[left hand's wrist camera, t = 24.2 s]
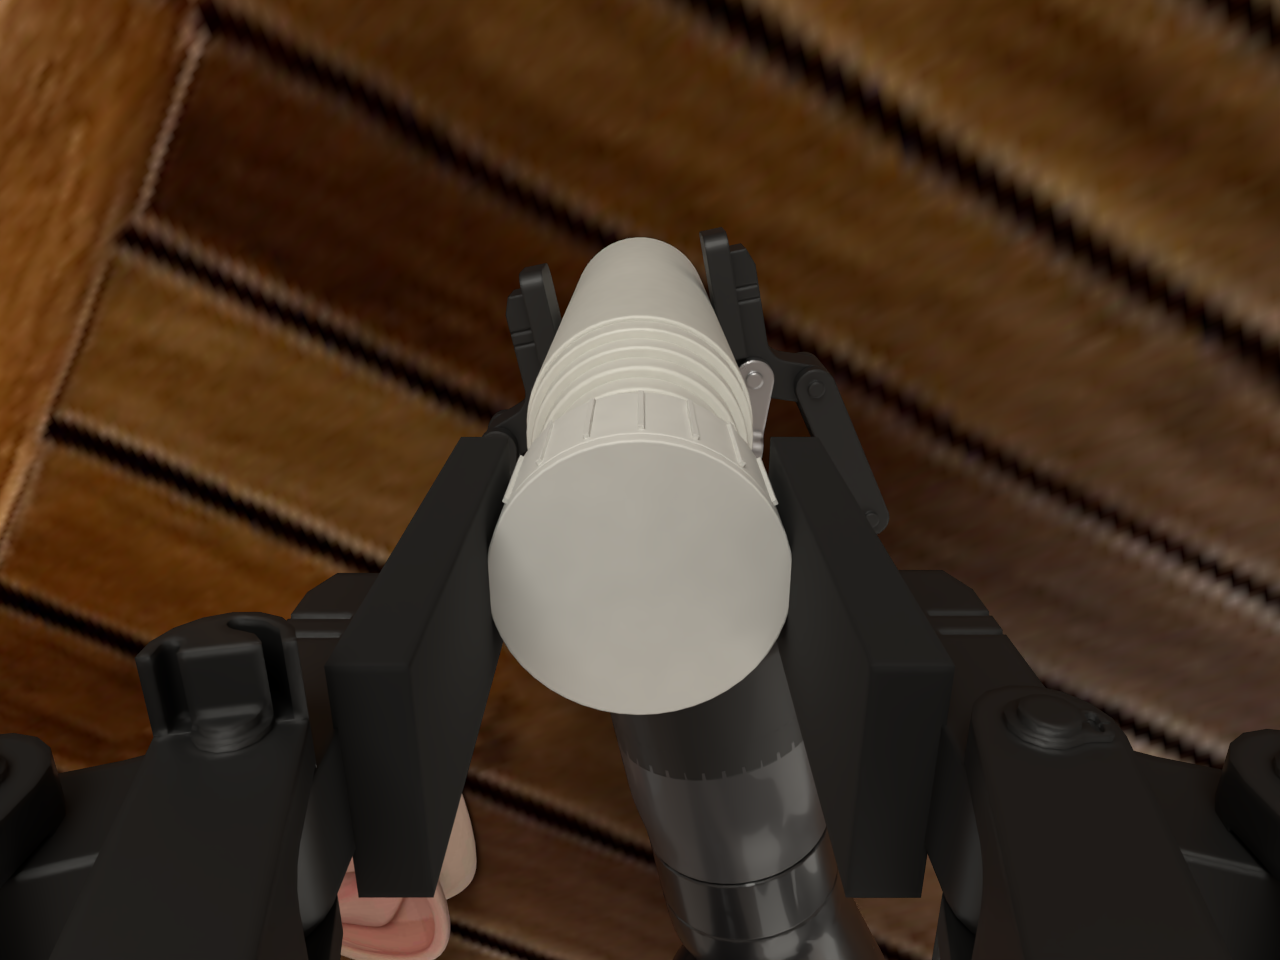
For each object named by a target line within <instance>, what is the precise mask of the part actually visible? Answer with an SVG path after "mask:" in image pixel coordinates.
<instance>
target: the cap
mask: <svg viewBox="0 0 1280 960" xmlns="http://www.w3.org/2000/svg"><path fill="white" fill-rule="evenodd" d="M502 502H503V503H504V506H503V509H502V511H501V514H500V517H499V519H498V522H497V525H496V527H495V530H494V533H493V536H492V539H491V542H490V546H489V549H488V572H489V587H490V601H491V614H492V618H493V621H494V623H495V625H496V627H497V630H498V632H499V634H500V636H501V638H502V639H503V641H504V643H505V644H506V646H507V647H508V649H509V651H510V652H511V653H512V655H513V656H514V657H515V658H516V659H517V661H518V662H519V663H520V664H521V666H523V667H524V668H525V669H526V670H527V671H528V672H529V673H530V674H531V675H532V676H533V677H534V678H535V679H537V680H538V681H539V682H541V683H542V684H544V685H545V686H546V687H548V688H549V689H551V690H552V691H554V692H556V693H558V694H559V695H561V696H563V697H565V698H567V699H569V700H572V701H574V702H576V703H579V704H581V705H584V706H587V707H591V708H594V709H598V710H601V711H607V712H613V713H618V714H632V715H647V714H660V713H667V712H673V711H678V710H681V709H685V708H689V707H692V706H695V705H698V704H700V703H703V702H705V701H708V700H710V699H712V698H714V697H716V696H718V695H720V694H722V693H723V692H725V691H727V690H729V689H730V688H731V687H733V686H734V685H736V684H737V683H738V682H740V681H741V680H743V679H744V678H745V677H746V676H747V675H748V674H749V673H750V672H751V671H753V670H754V669H755V668H756V667H757V666H758V664H759V663H760V662H761V661H762V660H763V659H764V657H765V656H766V655H767V654H768V652H769V651H770V649H771V648H772V646H773V645H774V643H775V642H776V640H777V638H778V636H779V634H780V632H781V630H782V628H783V626H784V624H785V621H786V618H787V615H788V607H789V593H790V579H791V562H792V554H791V549H790V545H789V542H788V539H787V535H786V532H785V529H784V527H783V524H782V521H781V519H780V516H779V513H778V511H777V508H776V505H777V504H778V501H777V499H776V496H775V493H774V491H773V488H772V486H771V483H770V480H769V478H768V475H767V472H766V470H765V467H764V465H763V462H762V460H761V458H760V457H759V458H756V456H755V455H754V453H753V452H752V450H751V449H750V447H749V446H748V444H747V443H746V442H745V441H744V439H743V438H742V437H741V436H740V435H739V434H738V433H737V431H735V428H734V425H733V424H732V423H731V422H729V423H728V424H727V423H726V422H725V421H724V420H723V419H721V418H720V417H718V416H717V415H715V414H714V413H712V412H711V411H709V410H707V409H705V408H703V407H701V406H699V405H697V404H695V403H693V402H692V400H690V399H687V400H684V399H681V398H678V397H673V396H668V395H664V394H658V393H644V391H643V390H639V391H638V392H637V393H622V394H616V395H611V396H605V397H602V398H599V399H596V400H595V398H592V399H589V402H587V403H585V404H583V405H581V406H578V407H576V408H574V409H572V410H570V411H569V412H567V413H566V414H564V415H563V416H561V417H560V418H558V419H557V420H555V421H554V422H553V421H552V420H551V421H550V422H549V423H548V424H547V427H546V429H545V430H544V431H543V432H542V433H541V434H540V435H539V436H538V438H537V439H536V440H535V441H534V442H533V443H532V445H531V446H530V448H529V449H528V451H527V452H526V454H525V455H524V457H523V456H522V455H520V457H519V459H518V461H517V464H516V466H515V469H514V471H513V474H512V477H511V479H510V482H509V485H508V487H507V490H506V492H505V495H504V498H503V500H502Z"/></svg>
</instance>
